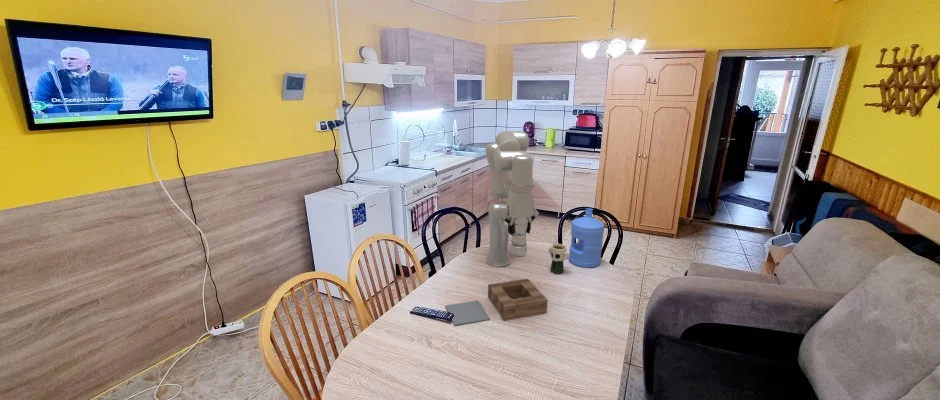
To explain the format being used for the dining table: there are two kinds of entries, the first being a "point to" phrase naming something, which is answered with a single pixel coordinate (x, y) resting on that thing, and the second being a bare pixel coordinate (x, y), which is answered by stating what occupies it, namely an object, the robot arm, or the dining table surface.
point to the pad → (467, 313)
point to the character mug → (558, 257)
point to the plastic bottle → (519, 237)
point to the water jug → (586, 241)
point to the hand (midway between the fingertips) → (519, 232)
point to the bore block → (521, 307)
